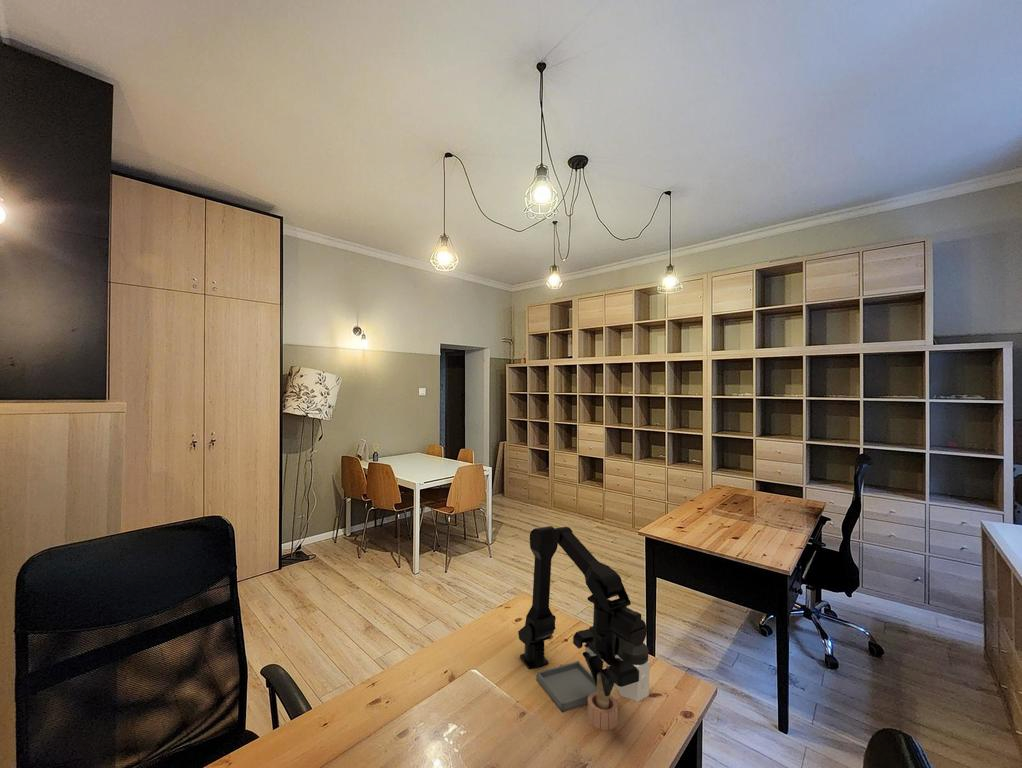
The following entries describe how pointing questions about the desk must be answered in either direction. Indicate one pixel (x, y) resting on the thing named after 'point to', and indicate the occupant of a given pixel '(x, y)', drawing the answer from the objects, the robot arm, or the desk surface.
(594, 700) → the cup
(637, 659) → the jar
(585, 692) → the tray
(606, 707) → the dowel
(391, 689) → the desk surface
